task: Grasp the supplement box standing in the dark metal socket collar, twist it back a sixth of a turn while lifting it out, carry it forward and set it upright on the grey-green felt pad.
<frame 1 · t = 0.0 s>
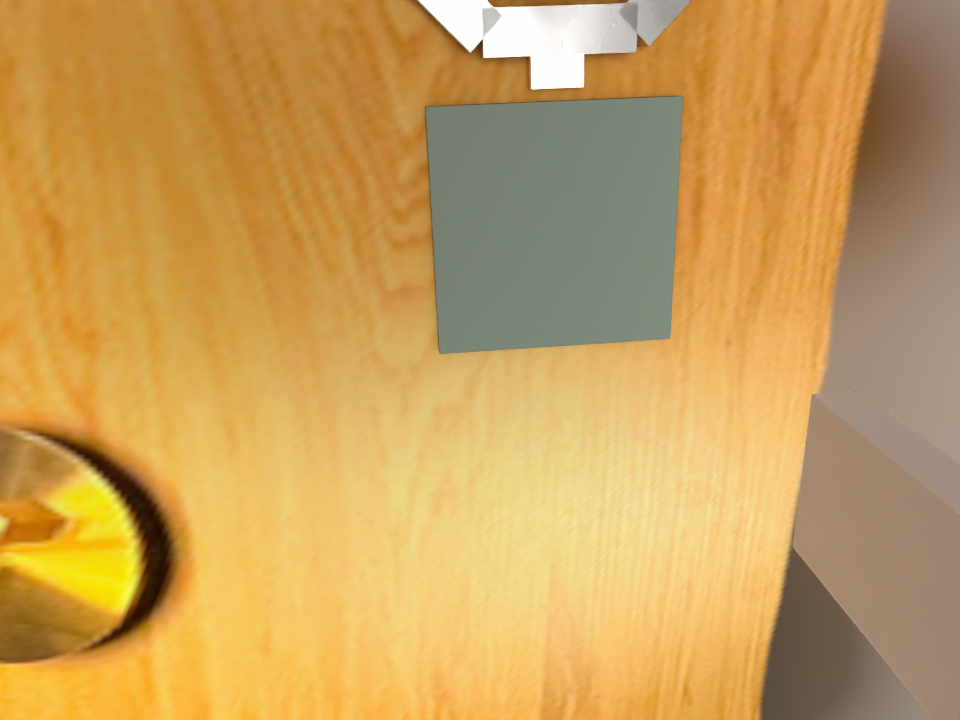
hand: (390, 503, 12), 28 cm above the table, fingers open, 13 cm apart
felt pad: (554, 228, 39), on the table
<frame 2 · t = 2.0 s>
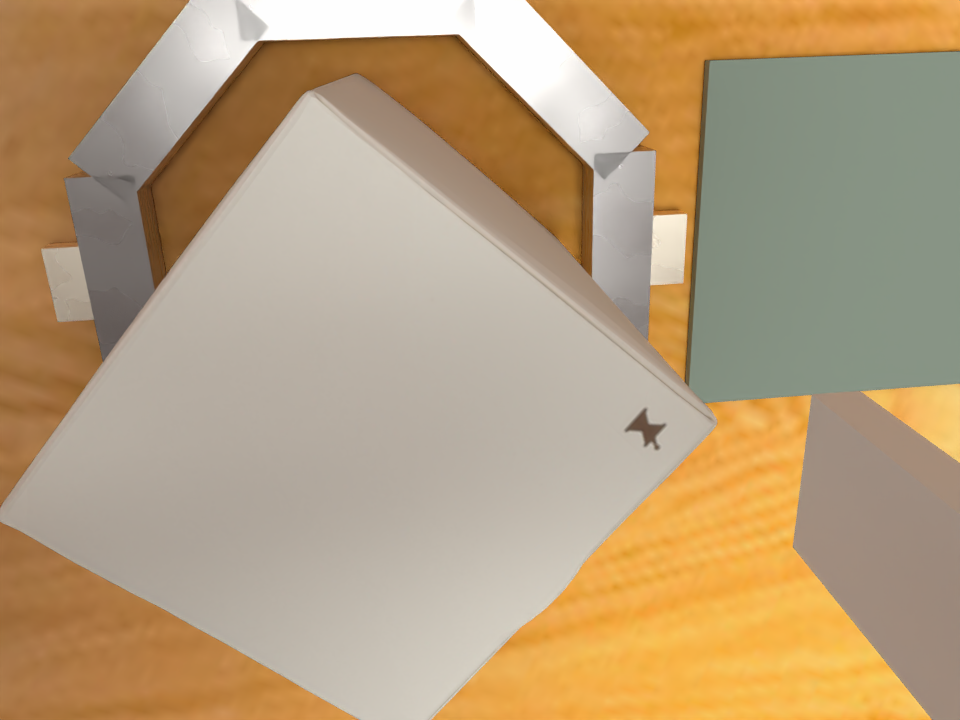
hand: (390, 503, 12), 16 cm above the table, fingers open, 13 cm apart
supplement box: (378, 259, 27), resting in socket collar
felt pad: (856, 233, 29), on the table
socket collar: (378, 261, 27), on the table
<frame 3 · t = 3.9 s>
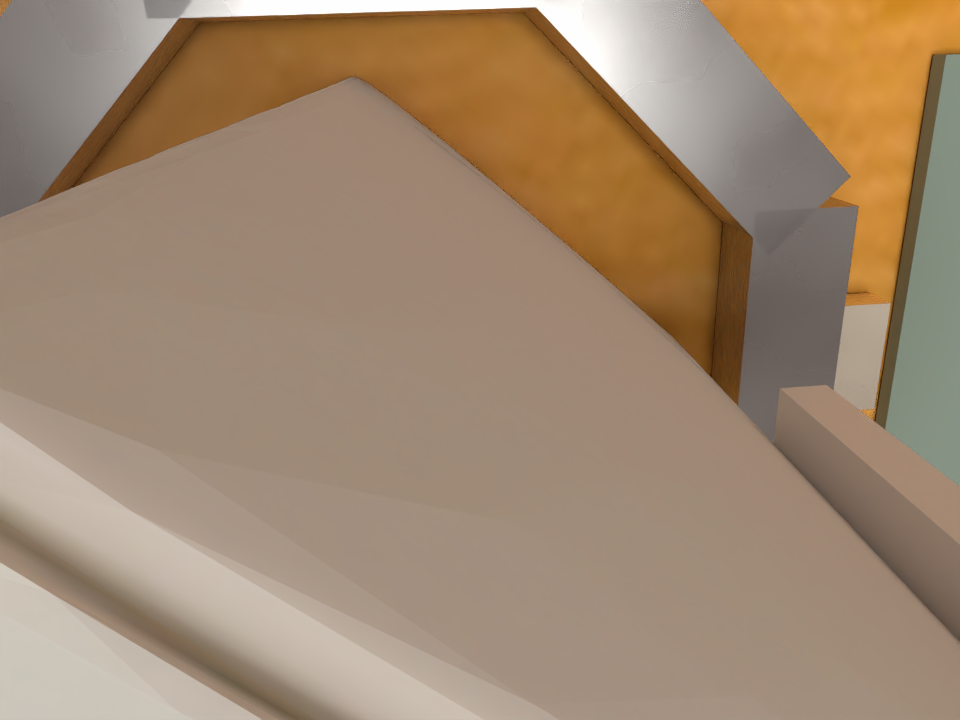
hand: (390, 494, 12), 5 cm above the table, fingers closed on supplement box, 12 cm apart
supplement box: (391, 372, 17), resting in socket collar, touching gripper
socket collar: (392, 375, 17), on the table
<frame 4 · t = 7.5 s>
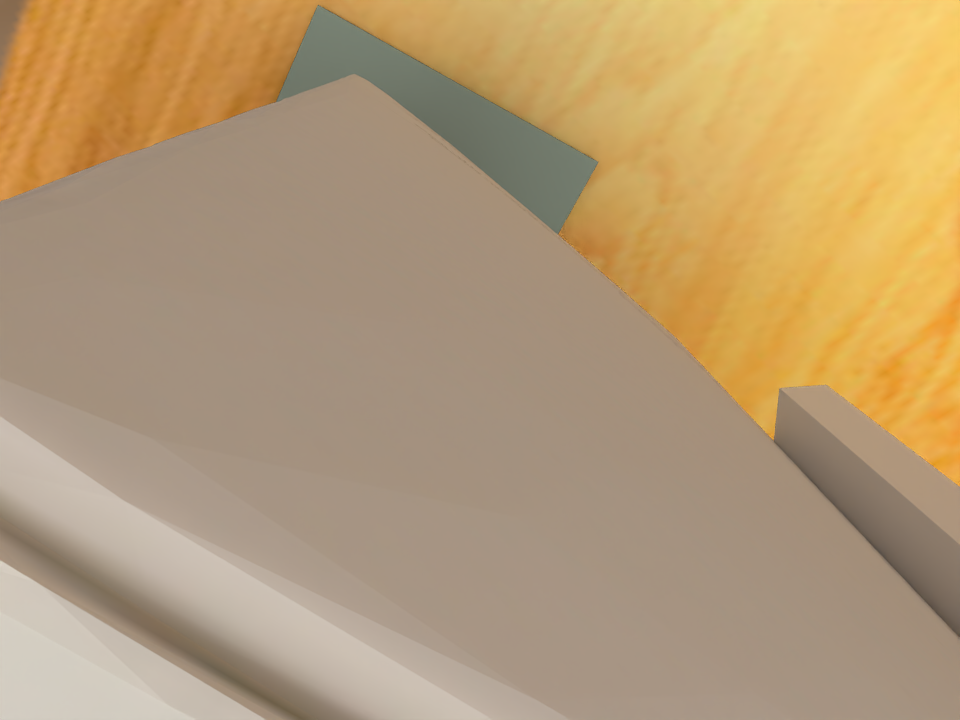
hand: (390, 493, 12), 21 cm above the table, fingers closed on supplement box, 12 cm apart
supplement box: (391, 371, 17), point 16 cm above the table, touching gripper
felt pad: (395, 225, 32), on the table
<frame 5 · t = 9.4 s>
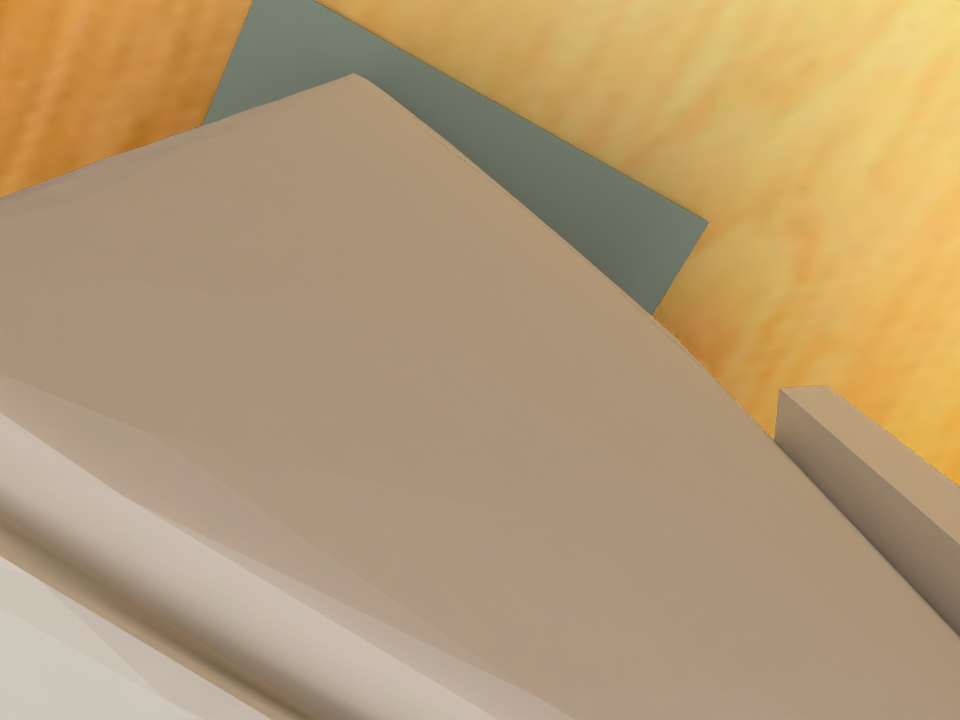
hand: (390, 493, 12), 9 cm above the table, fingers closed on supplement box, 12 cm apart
supplement box: (391, 370, 17), point 4 cm above the table, touching gripper
felt pad: (392, 319, 21), on the table
when the fingers open (7 cm above the table, at t = 11.1 s): supplement box drops 1 cm, resting on felt pad.
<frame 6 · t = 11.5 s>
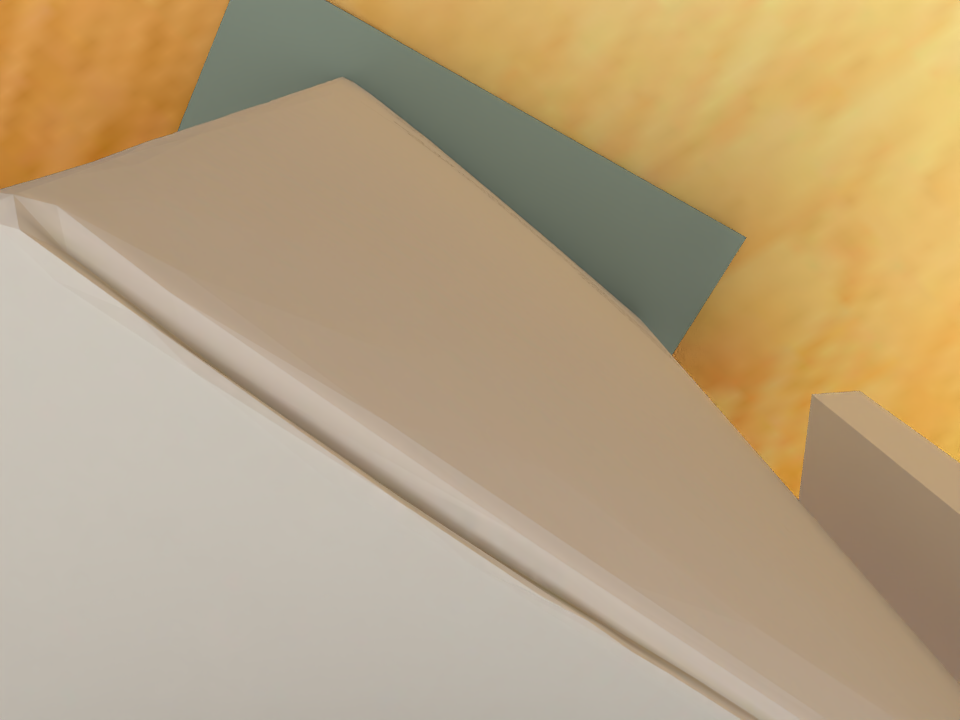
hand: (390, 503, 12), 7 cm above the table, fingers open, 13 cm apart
supplement box: (378, 350, 19), resting on felt pad
felt pad: (393, 344, 19), on the table
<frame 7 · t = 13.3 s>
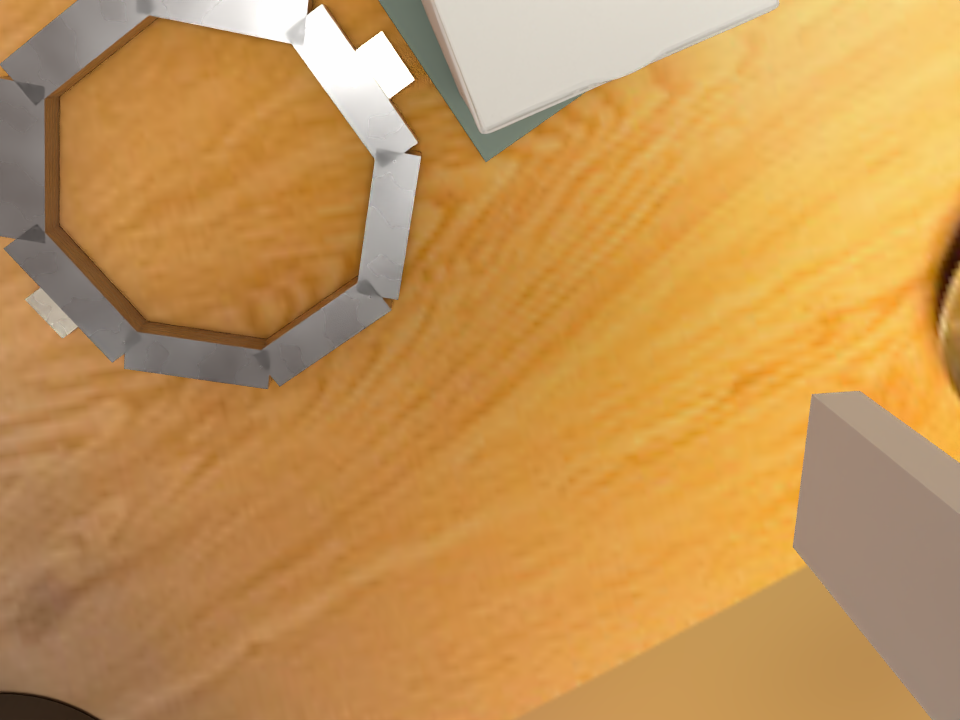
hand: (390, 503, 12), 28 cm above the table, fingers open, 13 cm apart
socket collar: (217, 190, 37), on the table
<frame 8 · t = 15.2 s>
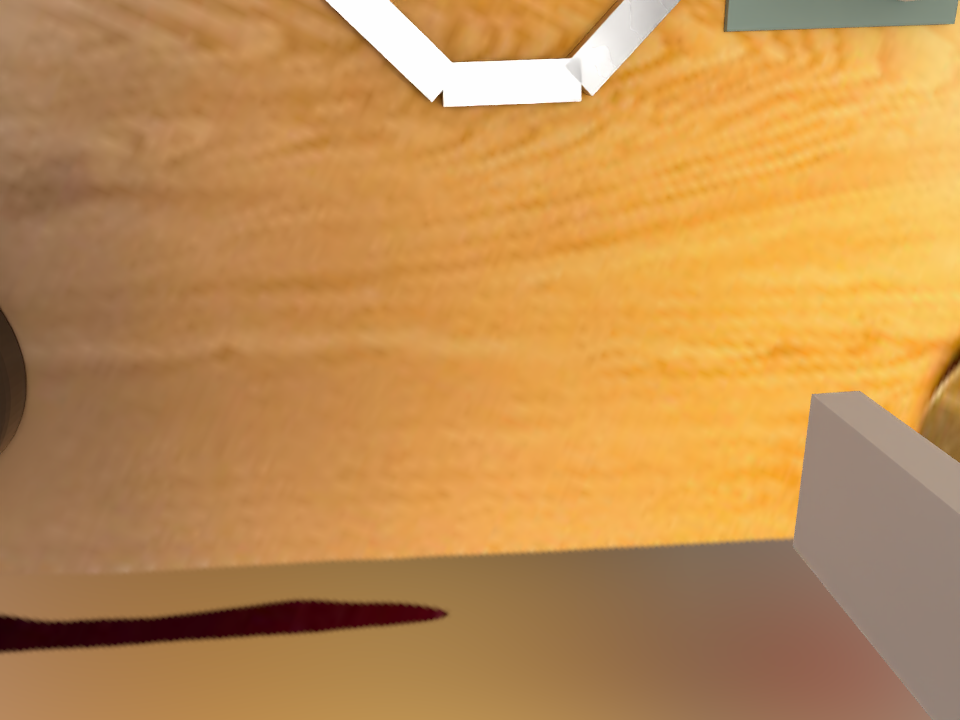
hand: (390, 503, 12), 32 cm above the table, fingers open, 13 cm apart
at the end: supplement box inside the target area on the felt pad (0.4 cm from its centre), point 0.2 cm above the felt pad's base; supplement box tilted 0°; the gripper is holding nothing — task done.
